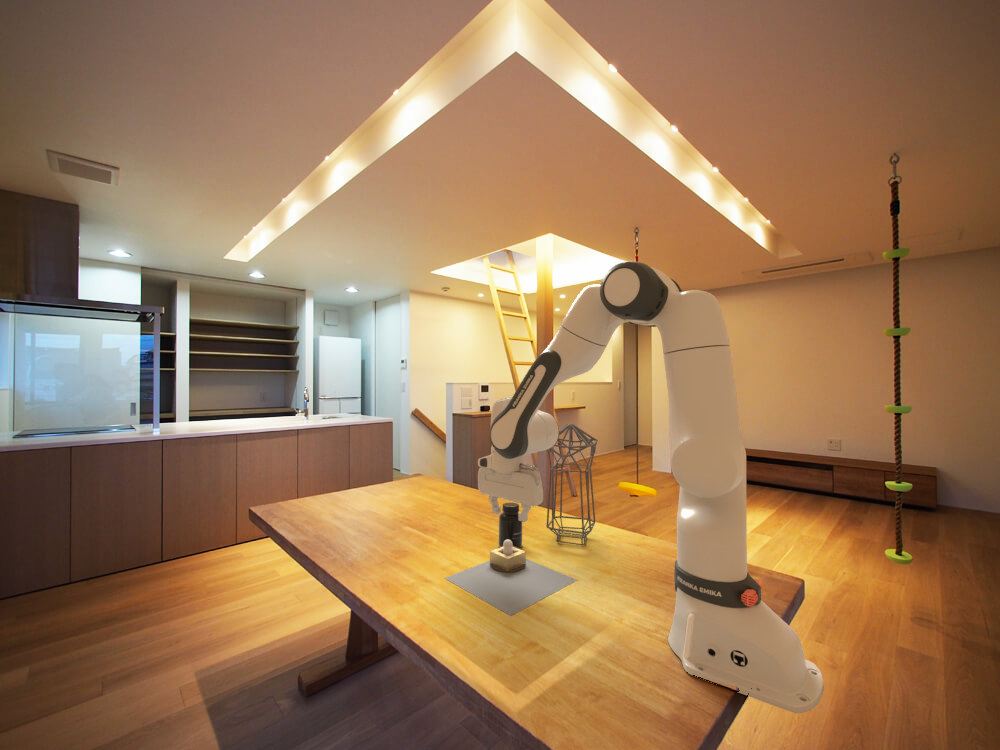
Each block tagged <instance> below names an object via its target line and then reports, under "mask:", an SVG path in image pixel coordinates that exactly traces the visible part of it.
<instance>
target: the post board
mask: <svg viewBox="0 0 1000 750" xmlns="http://www.w3.org/2000/svg"><path fill="white" fill-rule="evenodd" d="M513 547H514V546H513V543H512V541H511V540H509V539H507V540H505V541H504V543H503V554H505V555H507V556H509V555H511V554H513ZM444 580H447V581H448V582H450V583H451V584H453V585H455V586H457V587H459V588H461V589H463V590H464V591H466V592H468V593H469V594H471V595H473V596H475V597H476V598H478V599H480V600H482V601H484V602H485V603H487V604H489V605H491V606H492V607H494V608H495V609H498V610H499V611H501V612H503V613H504V614H507V615H509V616H510V617H512V616H514V615H516V614H517V613H519V612H521V611H523V610H525V609H527V608H529V607H531V606H533V605H534V604H536V603H538V602H540V601H542V600H544V599H545V598H547V597H549V596H551V595H553V594H555V593H556V592H559V591H561V590H562V589H564V588H566V587H567V586H569V585H571V584H573V583H575V582H577V581H578V579H577V578H575V577H572V576H570V575H567V574H565V573H562V572H559V571H557V570H554V569H552V568H550V567H547V566H545V565H543V564H540V563H538V562H535V561H532V560H530V559H528V558H526V564H524V565H522V566H519V567H517V568H515V569H512V570H510V571H505V570H503V569H501V568H499V567H497V566H495V565H492V564H490V560H487V561H485V562H481V563H480V564H477V565H474V566H472V567H469V568H466V569H464V570H461V571H459V572H455V573H454V574H452V575H448V576H446V577H444Z"/></svg>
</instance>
